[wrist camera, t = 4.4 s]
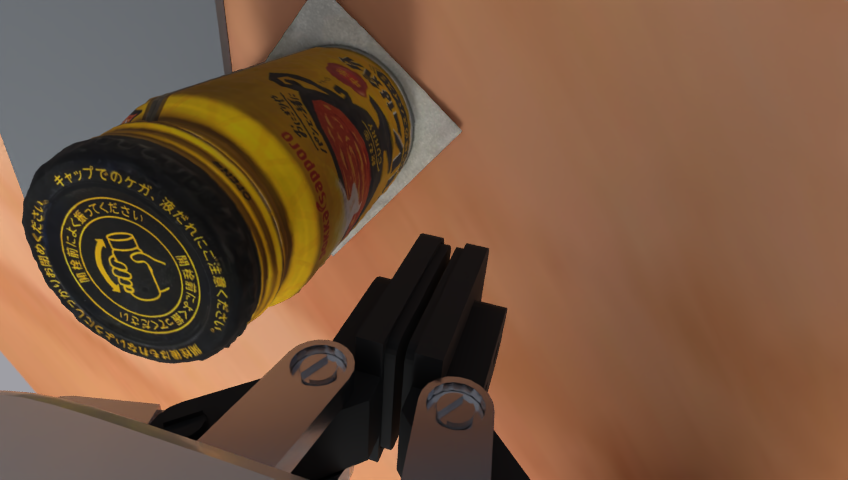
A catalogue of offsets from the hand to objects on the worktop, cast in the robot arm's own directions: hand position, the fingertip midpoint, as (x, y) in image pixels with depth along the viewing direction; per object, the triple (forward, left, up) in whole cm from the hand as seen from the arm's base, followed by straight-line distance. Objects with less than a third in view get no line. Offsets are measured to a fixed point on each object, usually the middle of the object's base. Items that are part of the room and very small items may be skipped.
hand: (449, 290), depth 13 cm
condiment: (0, +7, -9) cm, 11 cm away
